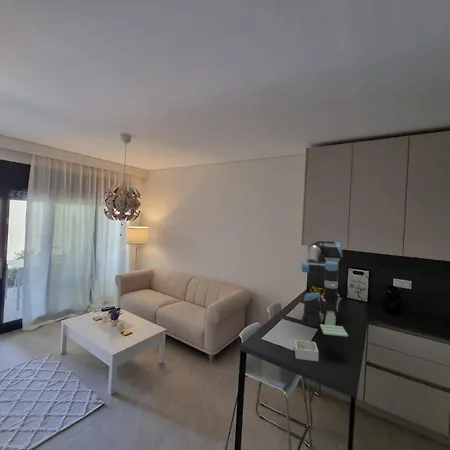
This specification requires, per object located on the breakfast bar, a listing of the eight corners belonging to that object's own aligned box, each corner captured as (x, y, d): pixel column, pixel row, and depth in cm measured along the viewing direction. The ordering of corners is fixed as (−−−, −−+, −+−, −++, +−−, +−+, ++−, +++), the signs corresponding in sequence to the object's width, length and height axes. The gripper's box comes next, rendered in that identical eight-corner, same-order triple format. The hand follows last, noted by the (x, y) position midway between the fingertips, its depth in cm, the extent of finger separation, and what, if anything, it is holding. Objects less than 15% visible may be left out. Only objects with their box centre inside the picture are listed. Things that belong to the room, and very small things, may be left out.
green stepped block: (318, 322, 158) (318, 309, 158) (340, 324, 155) (340, 311, 155) (323, 334, 140) (324, 320, 140) (348, 336, 138) (348, 322, 138)
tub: (294, 349, 154) (294, 339, 154) (315, 352, 152) (315, 342, 152) (295, 359, 143) (296, 349, 143) (318, 362, 140) (318, 351, 140)
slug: (298, 350, 152) (298, 345, 152) (303, 350, 151) (303, 345, 151) (298, 352, 149) (298, 347, 149) (303, 353, 149) (303, 348, 149)
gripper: (317, 287, 152) (316, 326, 152) (347, 289, 149) (346, 329, 149) (315, 284, 160) (314, 321, 160) (344, 286, 156) (343, 324, 156)
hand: (330, 325), depth 154 cm, fingers closed on green stepped block, 4 cm apart
